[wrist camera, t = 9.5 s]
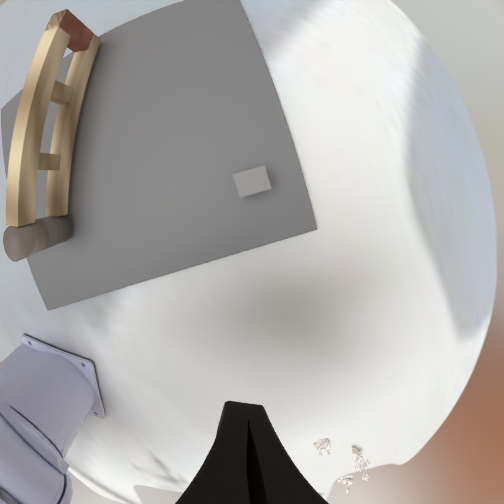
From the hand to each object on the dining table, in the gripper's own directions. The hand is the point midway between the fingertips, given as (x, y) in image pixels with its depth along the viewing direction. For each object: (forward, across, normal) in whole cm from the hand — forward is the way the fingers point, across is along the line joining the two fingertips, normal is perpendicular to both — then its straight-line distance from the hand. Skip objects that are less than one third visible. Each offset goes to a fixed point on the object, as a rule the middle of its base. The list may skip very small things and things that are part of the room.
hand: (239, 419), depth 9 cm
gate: (+9, +14, -9) cm, 19 cm away
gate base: (+10, +11, -9) cm, 18 cm away
